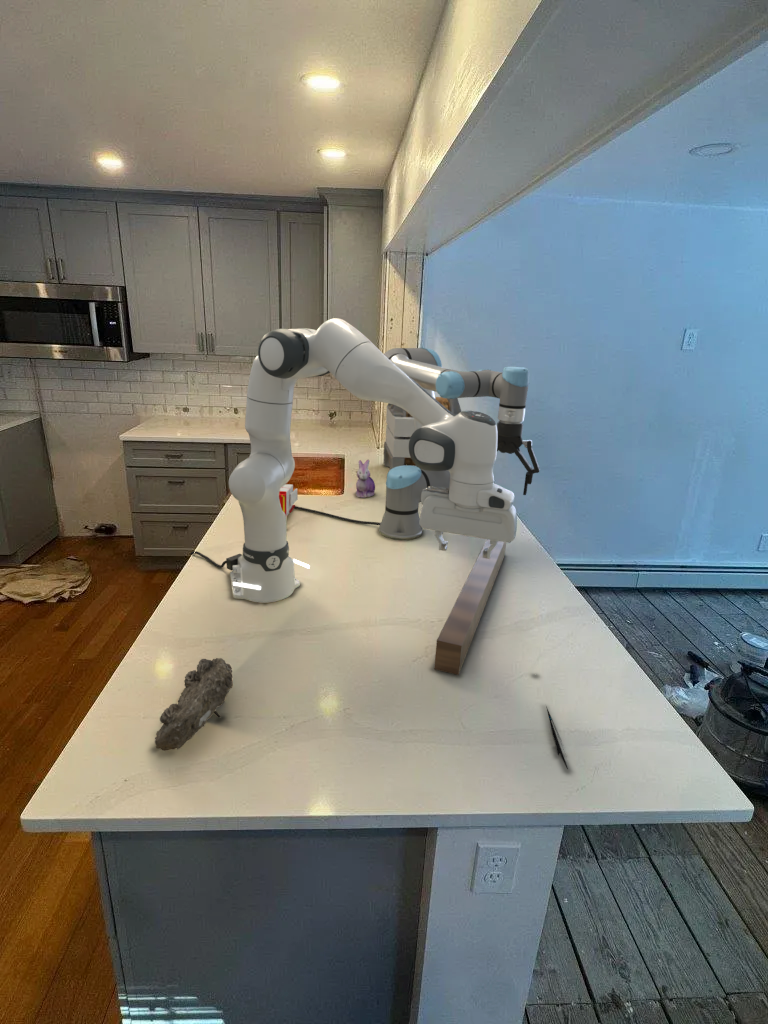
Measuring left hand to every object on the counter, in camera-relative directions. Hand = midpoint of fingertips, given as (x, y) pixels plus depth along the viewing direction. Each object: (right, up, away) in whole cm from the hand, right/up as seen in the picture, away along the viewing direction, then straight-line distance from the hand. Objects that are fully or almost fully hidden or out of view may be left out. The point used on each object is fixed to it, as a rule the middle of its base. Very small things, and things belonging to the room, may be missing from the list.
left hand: (464, 553), depth 121 cm
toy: (-57, +7, +90) cm, 107 cm away
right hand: (+19, +15, +52) cm, 57 cm away
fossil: (-52, -30, -13) cm, 62 cm away
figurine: (-25, +16, +118) cm, 122 cm away
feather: (+15, -32, -9) cm, 37 cm away
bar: (+8, -16, +34) cm, 39 cm away
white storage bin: (0, +28, +154) cm, 156 cm away
